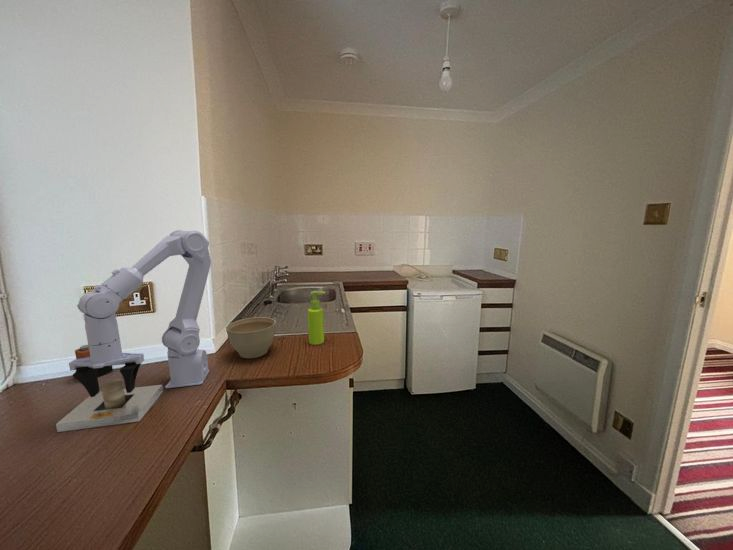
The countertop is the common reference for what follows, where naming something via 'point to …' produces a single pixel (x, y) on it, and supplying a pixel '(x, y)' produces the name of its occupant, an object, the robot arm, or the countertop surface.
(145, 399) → the light grey flat block
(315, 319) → the soap dispenser
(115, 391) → the barrel peg
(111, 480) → the countertop surface
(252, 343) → the planter bowl
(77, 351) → the battery
